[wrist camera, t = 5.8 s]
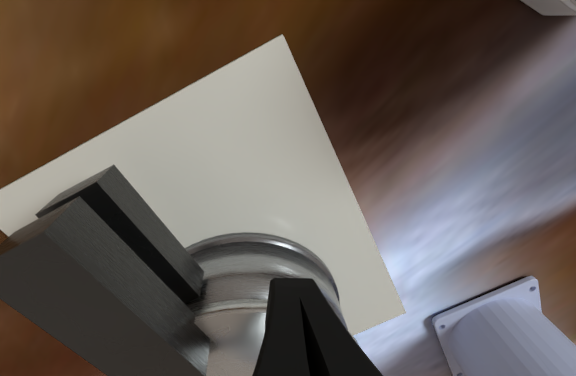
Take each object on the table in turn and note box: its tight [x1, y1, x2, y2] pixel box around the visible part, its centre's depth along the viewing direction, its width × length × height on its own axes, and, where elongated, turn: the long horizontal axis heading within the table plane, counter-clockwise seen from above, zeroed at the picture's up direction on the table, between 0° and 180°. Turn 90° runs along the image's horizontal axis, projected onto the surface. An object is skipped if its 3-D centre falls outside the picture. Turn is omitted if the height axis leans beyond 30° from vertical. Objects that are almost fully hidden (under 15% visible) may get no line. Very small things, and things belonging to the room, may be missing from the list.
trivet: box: [0, 34, 406, 336], centre depth 19 cm, size 20×17×1 cm
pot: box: [35, 165, 348, 330], centre depth 18 cm, size 22×12×5 cm, turn 26°
